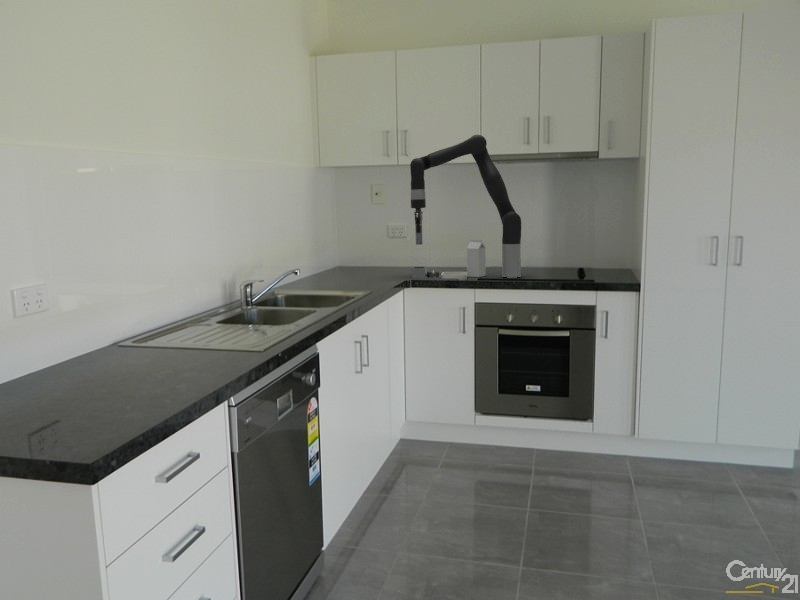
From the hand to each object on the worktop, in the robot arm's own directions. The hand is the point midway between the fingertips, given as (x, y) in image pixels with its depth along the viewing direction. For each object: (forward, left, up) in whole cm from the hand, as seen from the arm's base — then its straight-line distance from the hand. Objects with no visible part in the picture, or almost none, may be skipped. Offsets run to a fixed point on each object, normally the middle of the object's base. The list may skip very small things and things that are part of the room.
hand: (418, 232), depth 343 cm
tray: (-18, +1, -24) cm, 30 cm away
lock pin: (0, 0, -6) cm, 6 cm away
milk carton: (-29, -9, -24) cm, 39 cm away
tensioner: (-3, 0, -24) cm, 24 cm away
